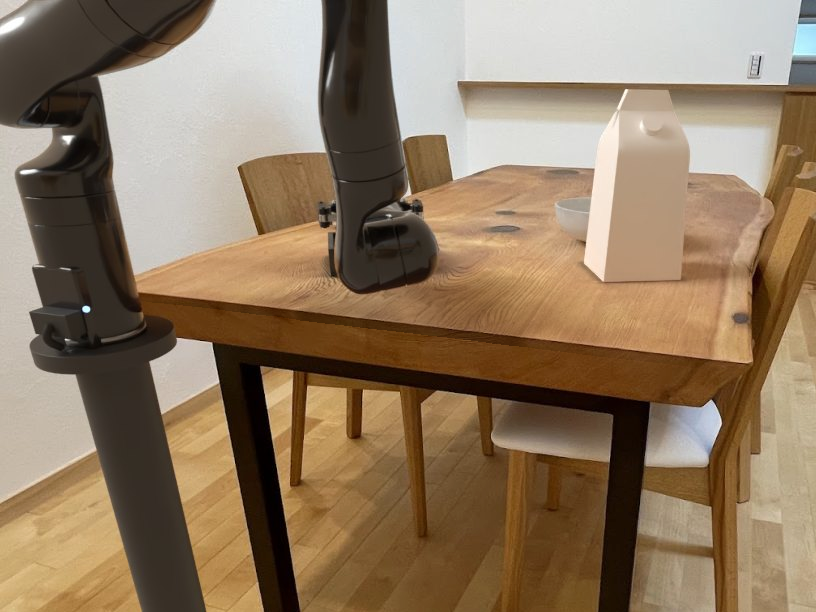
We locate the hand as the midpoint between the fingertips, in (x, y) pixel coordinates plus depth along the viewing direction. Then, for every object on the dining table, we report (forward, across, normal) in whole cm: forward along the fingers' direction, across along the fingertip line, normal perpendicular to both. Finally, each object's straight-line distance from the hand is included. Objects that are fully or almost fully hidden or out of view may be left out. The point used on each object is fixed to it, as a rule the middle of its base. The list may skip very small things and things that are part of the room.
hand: (368, 204), depth 97 cm
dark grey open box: (+5, 0, +10) cm, 11 cm away
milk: (-8, -39, +10) cm, 41 cm away
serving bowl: (+13, -44, +10) cm, 47 cm away
